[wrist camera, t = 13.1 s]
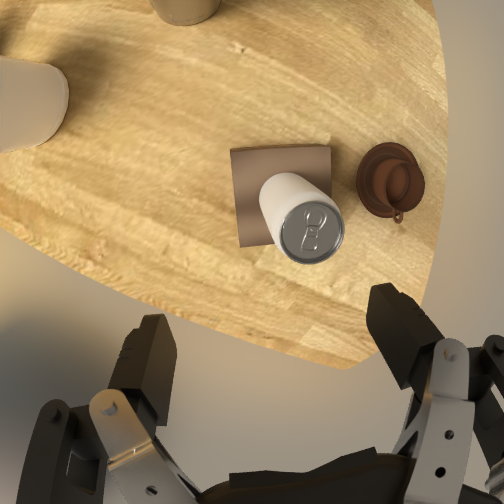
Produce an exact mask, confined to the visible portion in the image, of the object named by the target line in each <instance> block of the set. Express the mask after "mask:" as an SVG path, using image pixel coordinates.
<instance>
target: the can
mask: <svg viewBox="0 0 504 504" xmlns="http://www.w3.org/2000/svg"><path fill="white" fill-rule="evenodd" d="M259 203H260V207H261V210H262V213H263V216H264V218H265V221H266V223H267V226H268V228H269V231H270V233H271V236H272V238H273V240H274V242H275V244H276V246H277V247H278V249H279V250H280V251H281V252H282V253H283V254H285V255H286V256H288V257H289V258H290V259H292V260H293V261H295V262H298V263H301V264H317V263H320V262H323V261H325V260H327V259H328V258H330V257H331V256H332V255H333V254H334V253H335V252H336V251H337V250H338V248H339V247H340V245H341V243H342V240H343V237H344V222H343V219H342V216H341V213H340V210H339V208H338V207H337V205H336V204H335V202H334V201H333V200H332V199H331V198H330V197H328V196H327V195H326V194H325V193H323V192H322V191H320V190H319V189H318V188H316V187H315V186H314V185H312V184H311V183H309V182H308V181H307V180H305V179H304V178H302V177H301V176H299V175H297V174H294V173H279V174H276V175H274V176H272V177H271V178H269V179H268V180H267V181H266V182H265V183H264V185H263V186H262V188H261V191H260V195H259Z"/></svg>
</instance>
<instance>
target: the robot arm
mask: <svg viewBox="0 0 504 504" xmlns="http://www.w3.org/2000/svg"><path fill="white" fill-rule="evenodd" d="M220 1H221V0H149V2H150V3H151V5H152V6H153V8H154V9H155V10H156V12H157V13H158V15H159V16H160V18H161V19H162V20H164V21H165V22H167V23H169V24H172V25H176V26H187V25H193V24H197V23H199V22H202V21H204V20H206V19H207V18H209V17H210V16H211V15H213V14H214V13H215V11H216V10H217V9H218V7H219V5H220ZM366 324H367V328H368V330H369V332H370V334H371V336H372V337H373V339H374V341H375V343H376V345H377V346H378V348H379V350H380V352H381V353H382V355H383V357H384V359H385V361H386V363H387V364H388V366H389V368H390V370H391V372H392V374H393V376H394V377H395V379H396V381H397V383H398V385H399V387H400V389H401V390H403V389H406V388H408V387H412V389H413V393H412V395H411V399H410V403H409V407H408V411H407V414H406V418H405V421H404V425H403V428H402V431H401V434H400V437H399V439H398V441H397V443H396V445H395V446H394V449H393V451H392V453H391V454H390V453H378V454H377V452H376V449H375V447H371V448H368V449H365V450H362V451H358V452H355V453H351V454H348V455H344V456H341V457H339V458H337V459H335V460H333V461H331V462H329V463H327V464H325V465H323V466H320V467H318V468H316V469H314V470H312V471H309V472H305V473H295V472H278V471H267V470H265V471H256V472H243V473H230V474H229V481H225V482H222V483H220V484H217V485H215V486H213V487H211V488H209V489H207V490H206V491H204V492H201V491H200V489H199V488H198V487H197V486H196V485H195V484H194V483H193V482H192V481H191V480H190V479H189V478H188V476H186V474H185V473H184V472H183V471H182V470H181V468H180V467H179V466H178V465H177V463H176V462H175V461H174V459H173V458H172V457H171V456H170V454H169V453H168V452H167V450H166V449H165V447H164V446H163V445H162V443H161V442H160V440H159V439H158V438H157V436H156V435H155V432H156V426H167V419H168V412H169V404H170V397H171V391H172V384H173V377H174V371H175V365H176V359H177V348H176V343H175V341H174V338H173V336H172V333H171V330H170V327H169V325H168V322H167V319H166V317H165V315H164V314H151V315H144V317H143V319H142V322H141V324H140V327H139V329H138V328H137V329H133V330H132V331H131V332H130V334H129V335H128V336H127V337H126V338H125V341H124V343H123V346H122V350H121V351H120V354H119V358H118V360H117V363H116V366H115V368H114V371H113V374H112V377H111V380H110V383H109V386H108V388H107V390H104V391H101V392H100V393H98V394H97V395H95V396H94V398H93V399H92V400H91V402H90V405H85V406H80V407H74V408H70V407H69V406H68V405H67V404H66V403H65V402H64V401H62V400H59V399H54V400H51V401H49V402H48V403H46V404H45V405H44V406H43V407H42V409H41V410H40V413H39V416H38V419H37V422H36V424H35V428H34V430H33V434H32V437H31V440H30V444H29V447H28V451H27V454H26V458H25V462H24V467H23V470H22V474H21V479H20V484H19V489H18V495H17V501H16V504H103V494H104V484H105V475H106V467H107V460H108V458H110V460H111V462H110V463H108V468H109V471H110V473H111V475H112V477H113V478H114V480H115V482H116V484H117V486H118V487H119V489H120V491H121V493H122V494H123V496H124V498H125V499H126V501H127V502H128V504H504V412H503V410H502V409H501V407H500V405H499V403H498V401H497V400H496V398H495V396H494V394H493V393H492V391H491V387H492V386H493V385H494V383H495V385H496V386H497V388H498V390H499V391H500V393H501V395H502V396H503V398H504V337H502V336H500V335H491V336H489V337H487V339H486V340H485V342H484V344H483V346H482V347H473V348H466V346H465V345H464V344H463V343H461V342H460V341H458V340H456V339H452V338H446V339H445V337H444V336H443V335H442V334H441V332H440V331H439V330H438V329H437V327H436V326H435V325H434V324H433V322H432V321H431V320H430V319H429V317H428V316H427V315H425V312H424V311H423V310H422V309H421V308H420V306H419V305H418V304H417V303H416V302H415V301H414V299H413V298H411V297H409V296H408V295H406V294H405V293H403V292H402V293H399V292H398V290H397V289H396V288H395V287H394V286H393V284H392V283H384V284H379V285H374V286H372V287H371V290H370V296H369V302H368V308H367V314H366ZM472 431H474V433H475V434H476V437H477V439H478V441H479V444H480V446H481V448H482V451H483V453H484V456H485V458H486V461H487V463H488V466H489V468H490V473H489V478H488V479H487V480H486V482H485V488H486V489H487V490H489V494H488V493H485V492H482V491H480V490H477V489H475V488H472V487H469V486H467V485H465V484H463V480H464V476H465V471H466V467H467V462H468V457H469V451H470V446H471V439H472ZM70 452H72V453H71V458H70V463H69V468H68V473H67V475H66V472H67V466H68V461H69V457H70Z"/></svg>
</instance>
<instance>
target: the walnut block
mask: <svg viewBox="0 0 504 504" xmlns="http://www.w3.org/2000/svg"><path fill="white" fill-rule="evenodd" d="M230 157H231V167H232V177H233V186H234V196H235V206H236V215H237V224H238V234H239V243H240V248H241V247H250V246H260V245H269V244H275V242H274V240H273V238H272V236H271V233H270V231H269V228H268V226H267V223H266V221H265V218H264V216H263V213H262V210H261V207H260V203H259V195H260V191H261V188H262V186H263V185H264V183H265V182H266V181H267V180H268V179H269V178H271V177H272V176H274V175H276V174H279V173H294V174H297V175H299V176H301V177H302V178H304V179H305V180H307V181H308V182H309V183H311V184H312V185H314V186H315V187H316V188H318V189H319V190H320V191H322V192H323V193H325V194H326V195H327V196H328V197H330V198H331V148H330V146H325V145H320V144H291V145H272V146H258V147H246V148H236V149H230Z"/></svg>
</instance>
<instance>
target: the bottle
mask: <svg viewBox="0 0 504 504" xmlns="http://www.w3.org/2000/svg"><path fill="white" fill-rule="evenodd" d="M68 99H69V88H68V82H67V79H66V77H65V76H64V74H63V73H62V71H61V70H59V69H57V68H56V67H54V66H52V65H50V64H43V63H38V62H34V61H29V60H24V59H19V58H13V57H7V56H1V55H0V155H2V154H6V153H9V152H13V151H17V150H21V149H25V148H32V147H35V146H38V145H40V144H42V143H45V142H46V141H47V140H48V139H49V138H50V137H51V136H53V135H54V134H55V132H56V131H57V129H58V128H59V126H60V125H61V123H62V122H63V119H64V116H65V113H66V110H67V108H68Z"/></svg>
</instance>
